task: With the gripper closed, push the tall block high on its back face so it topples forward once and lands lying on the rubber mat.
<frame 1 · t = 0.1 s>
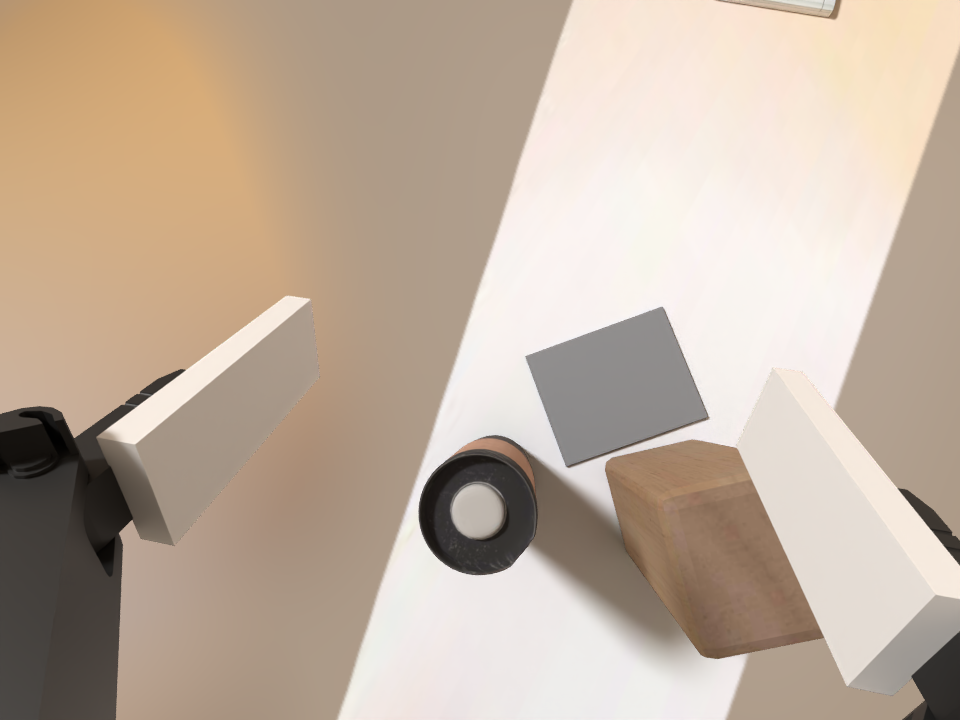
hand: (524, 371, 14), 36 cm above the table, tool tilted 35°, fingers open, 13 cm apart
travel mug: (495, 469, 49), on the table
block: (662, 496, 47), on the table
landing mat: (614, 386, 49), on the table
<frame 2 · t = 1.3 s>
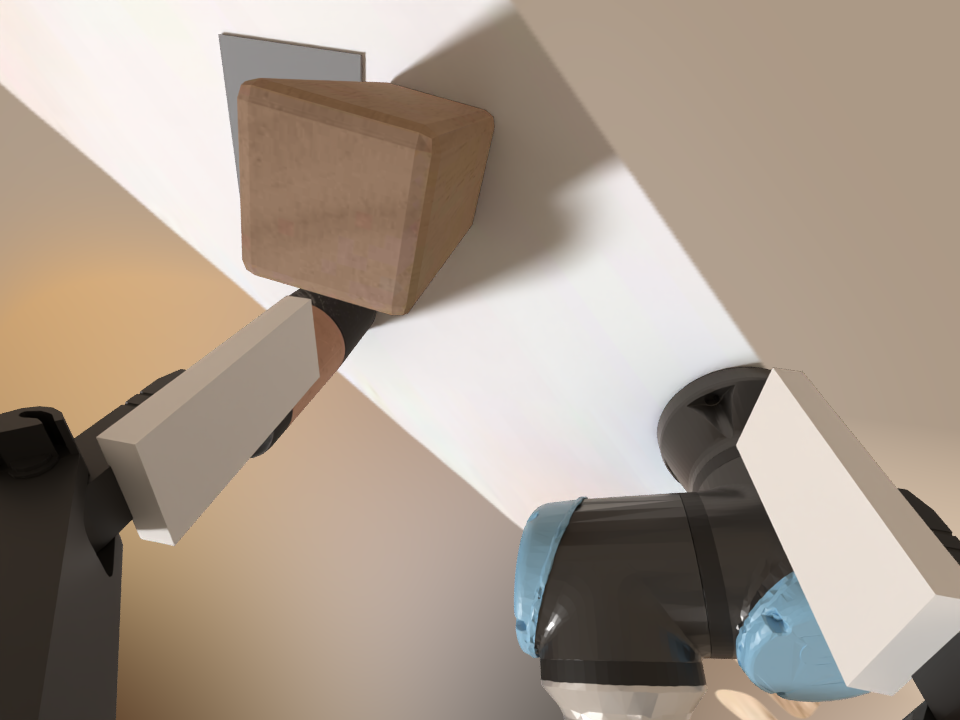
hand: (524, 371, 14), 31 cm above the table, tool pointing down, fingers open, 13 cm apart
travel mug: (345, 301, 49), on the table
block: (429, 160, 41), on the table
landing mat: (297, 145, 42), on the table
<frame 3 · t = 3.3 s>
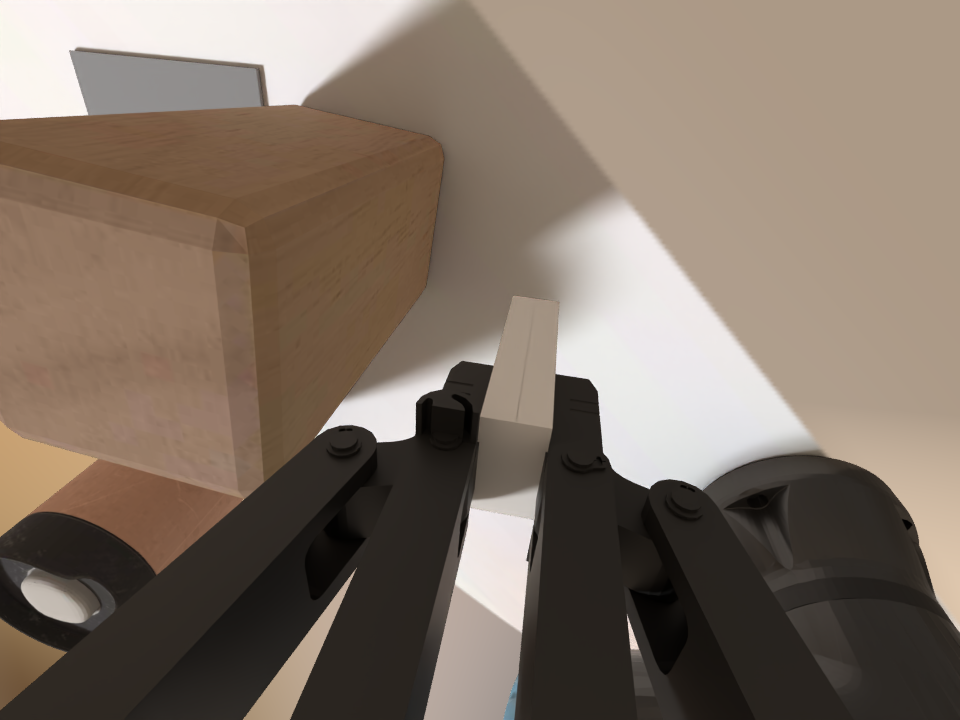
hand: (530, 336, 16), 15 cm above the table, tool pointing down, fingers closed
travel mug: (279, 379, 39), on the table
block: (364, 204, 30), on the table
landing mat: (192, 191, 32), on the table
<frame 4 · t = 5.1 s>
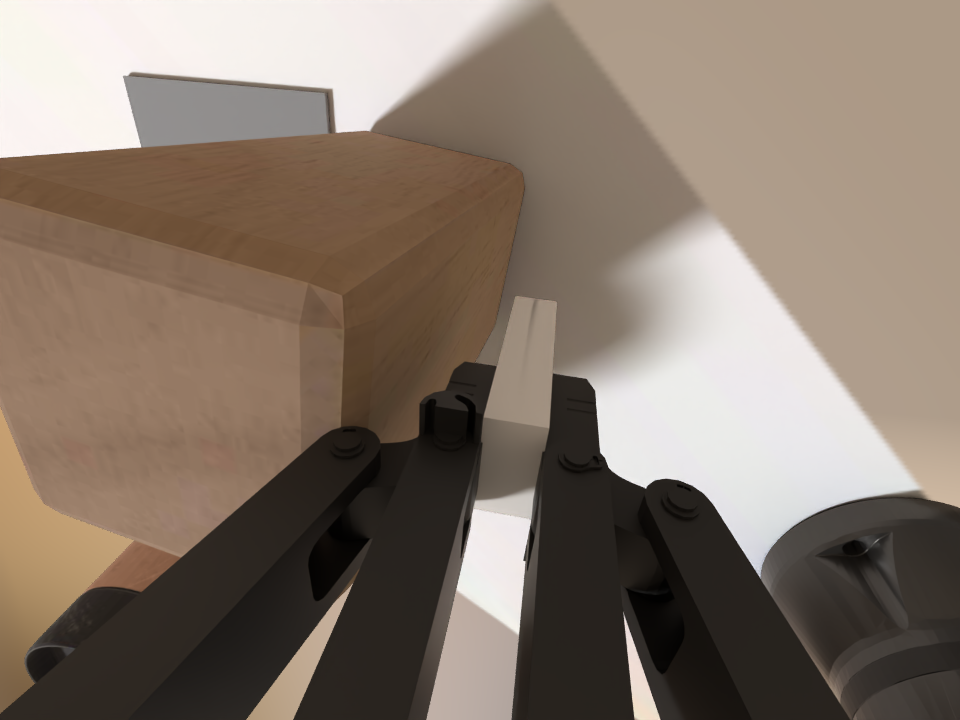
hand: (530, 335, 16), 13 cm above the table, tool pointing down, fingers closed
travel mug: (329, 414, 37), on the table
block: (431, 235, 28), on the table, touching gripper
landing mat: (247, 221, 30), on the table
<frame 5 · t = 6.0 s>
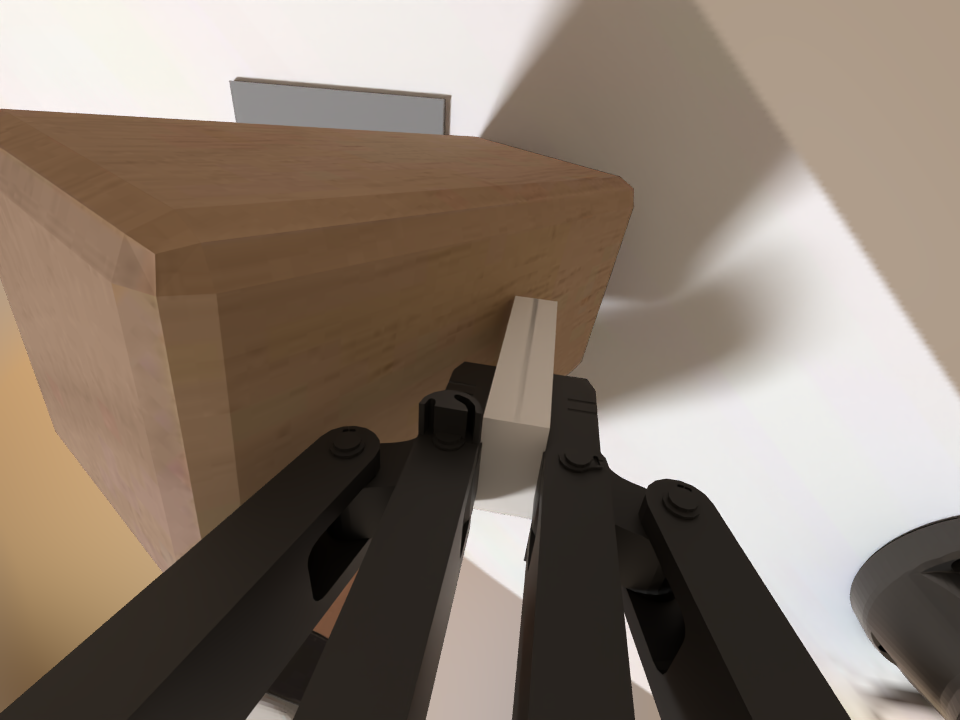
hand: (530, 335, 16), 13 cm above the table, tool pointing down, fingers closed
travel mug: (410, 425, 36), on the table
block: (531, 253, 26), point 2 cm above the table, touching gripper
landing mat: (345, 229, 29), on the table
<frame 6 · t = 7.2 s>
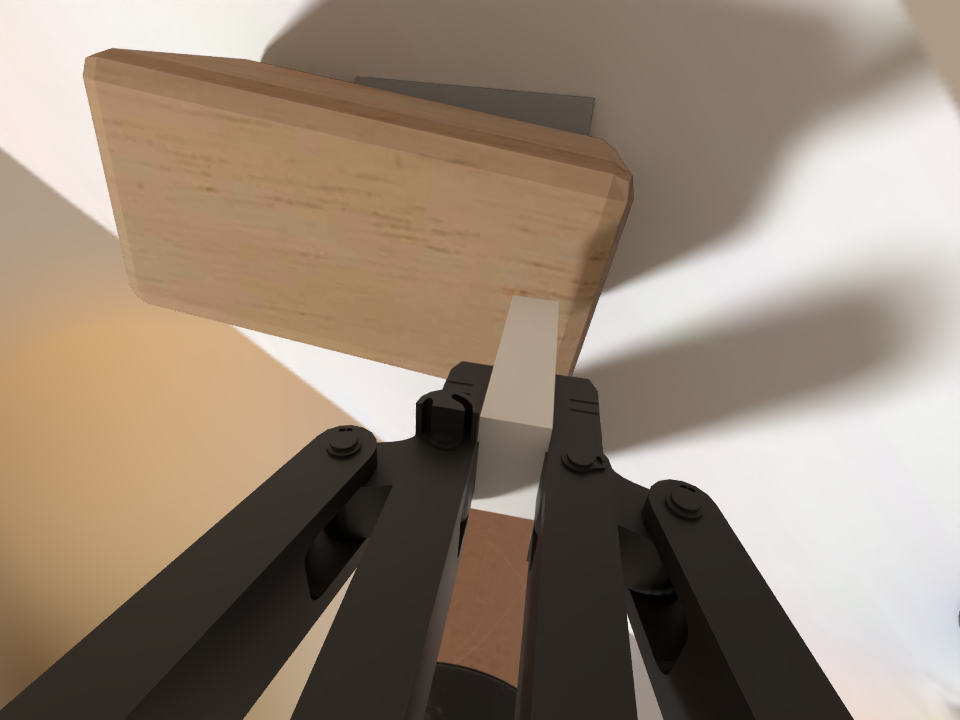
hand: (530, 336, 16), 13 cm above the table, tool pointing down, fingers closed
travel mug: (506, 438, 34), on the table
block: (597, 270, 22), point 5 cm above the table, touching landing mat
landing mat: (464, 236, 27), on the table
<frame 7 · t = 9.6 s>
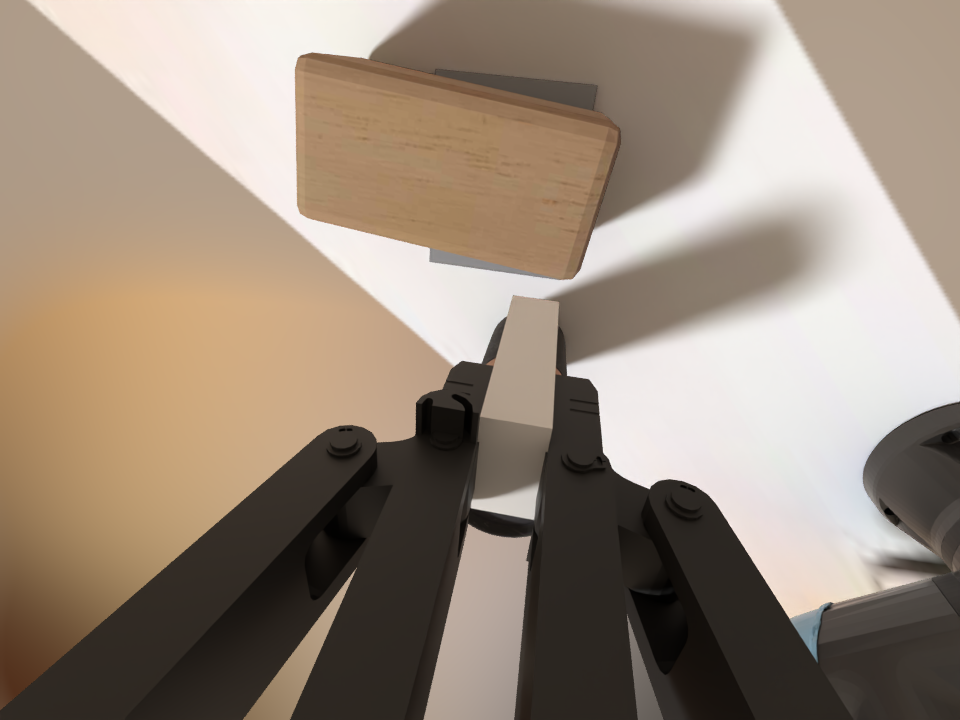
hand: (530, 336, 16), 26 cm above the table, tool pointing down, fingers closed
travel mug: (528, 342, 46), on the table
block: (598, 198, 33), point 5 cm above the table, touching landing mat
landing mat: (504, 183, 39), on the table
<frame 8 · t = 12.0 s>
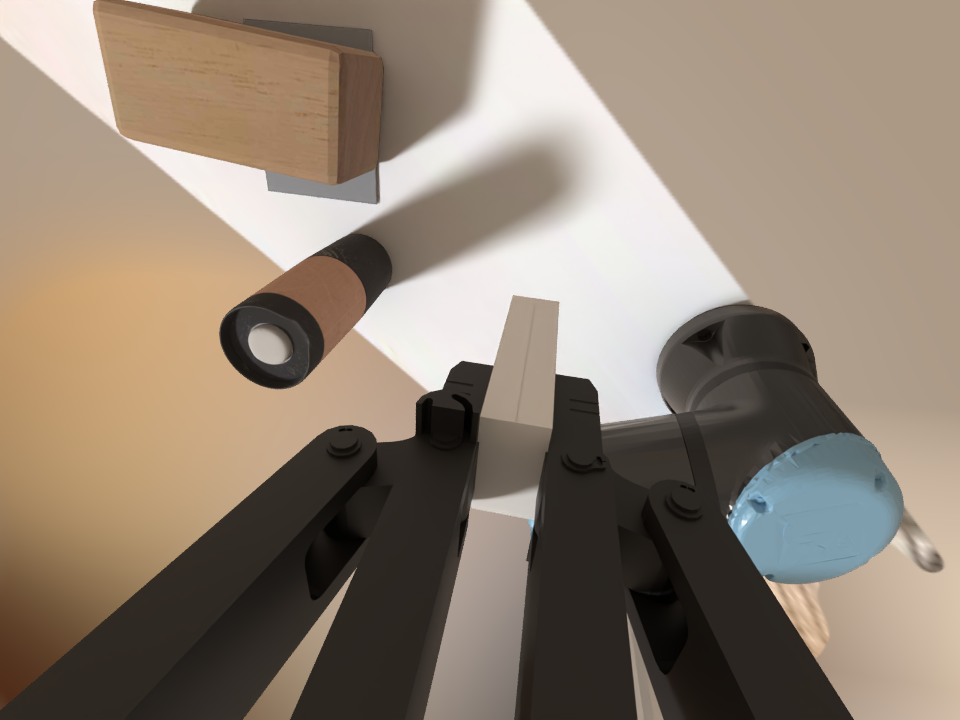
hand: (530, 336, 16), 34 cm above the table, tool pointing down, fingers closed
travel mug: (362, 264, 53), on the table
block: (366, 120, 41), point 5 cm above the table, touching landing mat
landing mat: (315, 117, 46), on the table
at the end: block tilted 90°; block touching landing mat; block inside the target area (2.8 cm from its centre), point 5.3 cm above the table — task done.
